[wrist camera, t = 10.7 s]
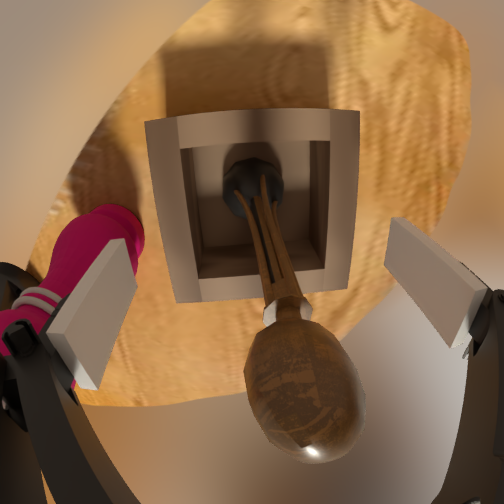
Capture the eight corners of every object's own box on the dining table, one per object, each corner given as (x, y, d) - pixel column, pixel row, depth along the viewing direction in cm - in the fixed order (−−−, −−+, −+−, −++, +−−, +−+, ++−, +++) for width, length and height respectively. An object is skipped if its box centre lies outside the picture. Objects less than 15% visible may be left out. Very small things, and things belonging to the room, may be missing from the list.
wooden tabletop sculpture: (298, 206, 23) (430, 444, 6) (251, 235, 24) (294, 497, 7) (261, 146, 21) (416, 359, 3) (210, 178, 22) (156, 455, 4)
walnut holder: (186, 263, 26) (176, 303, 21) (166, 118, 20) (144, 121, 15) (325, 252, 27) (347, 288, 21) (329, 110, 21) (359, 110, 15)
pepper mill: (69, 230, 24) (-60, 386, 6) (112, 181, 22) (-62, 345, 4) (117, 281, 27) (38, 465, 9) (166, 241, 25) (88, 464, 7)
